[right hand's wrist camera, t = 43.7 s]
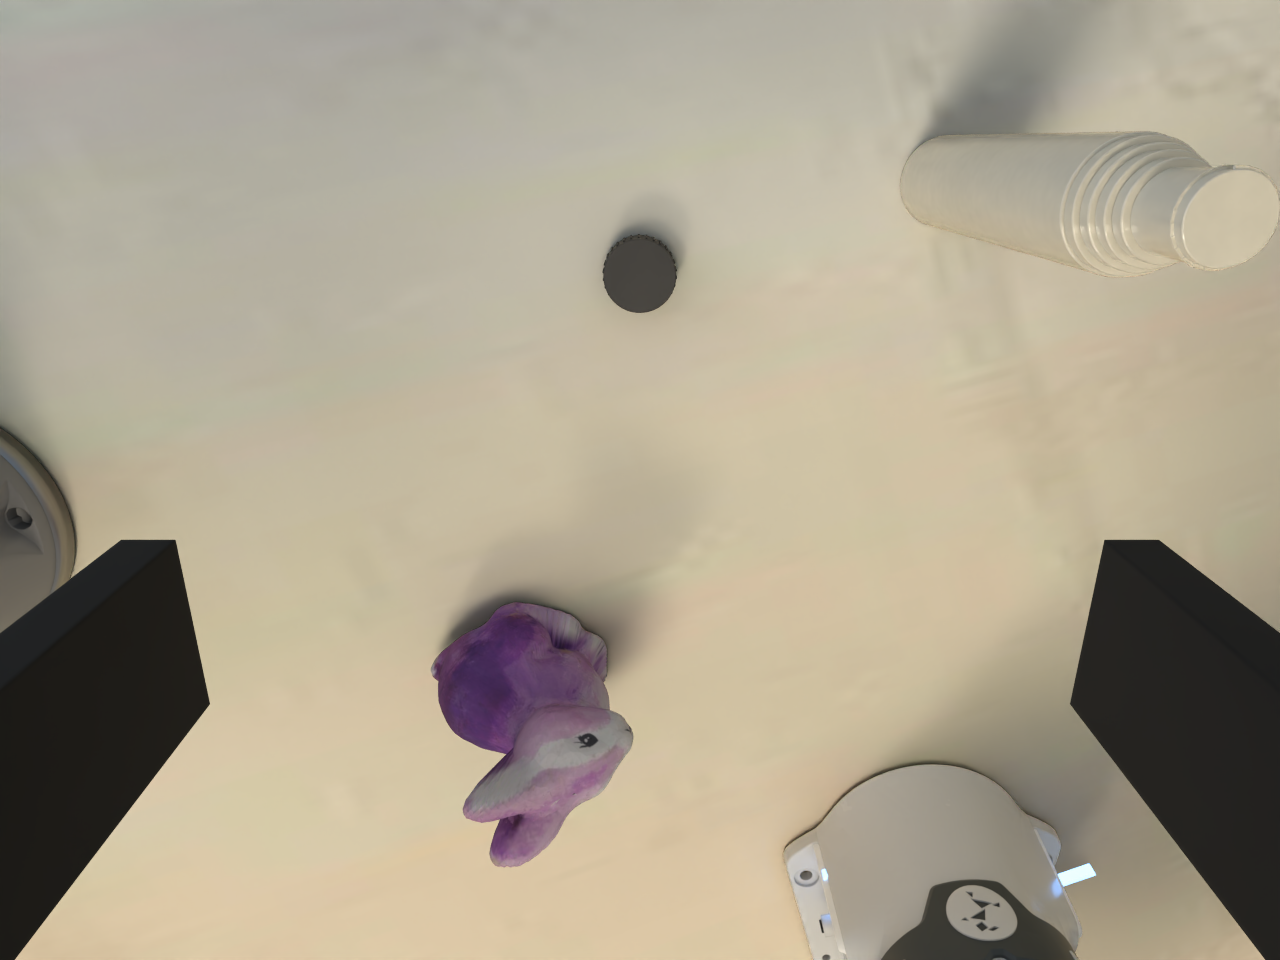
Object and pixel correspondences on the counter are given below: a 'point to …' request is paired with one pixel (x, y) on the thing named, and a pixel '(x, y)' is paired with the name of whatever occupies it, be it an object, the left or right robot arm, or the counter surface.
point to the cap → (639, 273)
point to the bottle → (1093, 199)
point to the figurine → (532, 722)
